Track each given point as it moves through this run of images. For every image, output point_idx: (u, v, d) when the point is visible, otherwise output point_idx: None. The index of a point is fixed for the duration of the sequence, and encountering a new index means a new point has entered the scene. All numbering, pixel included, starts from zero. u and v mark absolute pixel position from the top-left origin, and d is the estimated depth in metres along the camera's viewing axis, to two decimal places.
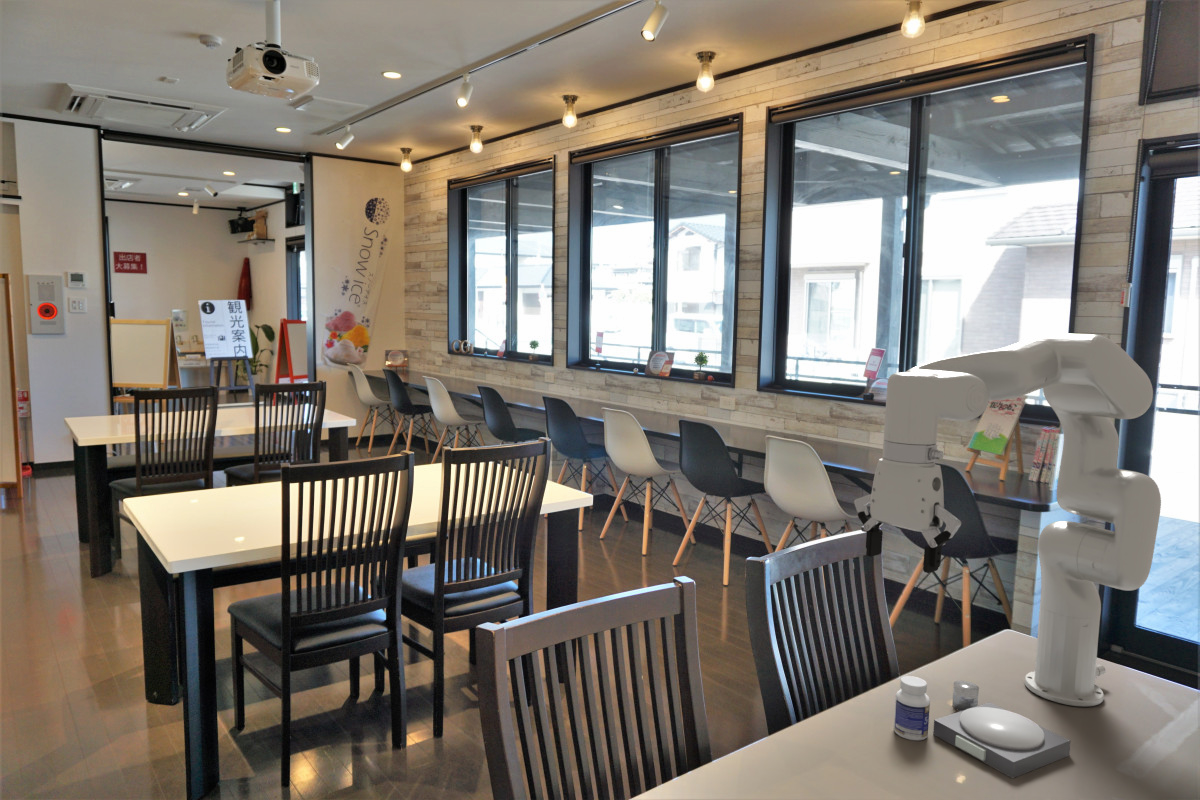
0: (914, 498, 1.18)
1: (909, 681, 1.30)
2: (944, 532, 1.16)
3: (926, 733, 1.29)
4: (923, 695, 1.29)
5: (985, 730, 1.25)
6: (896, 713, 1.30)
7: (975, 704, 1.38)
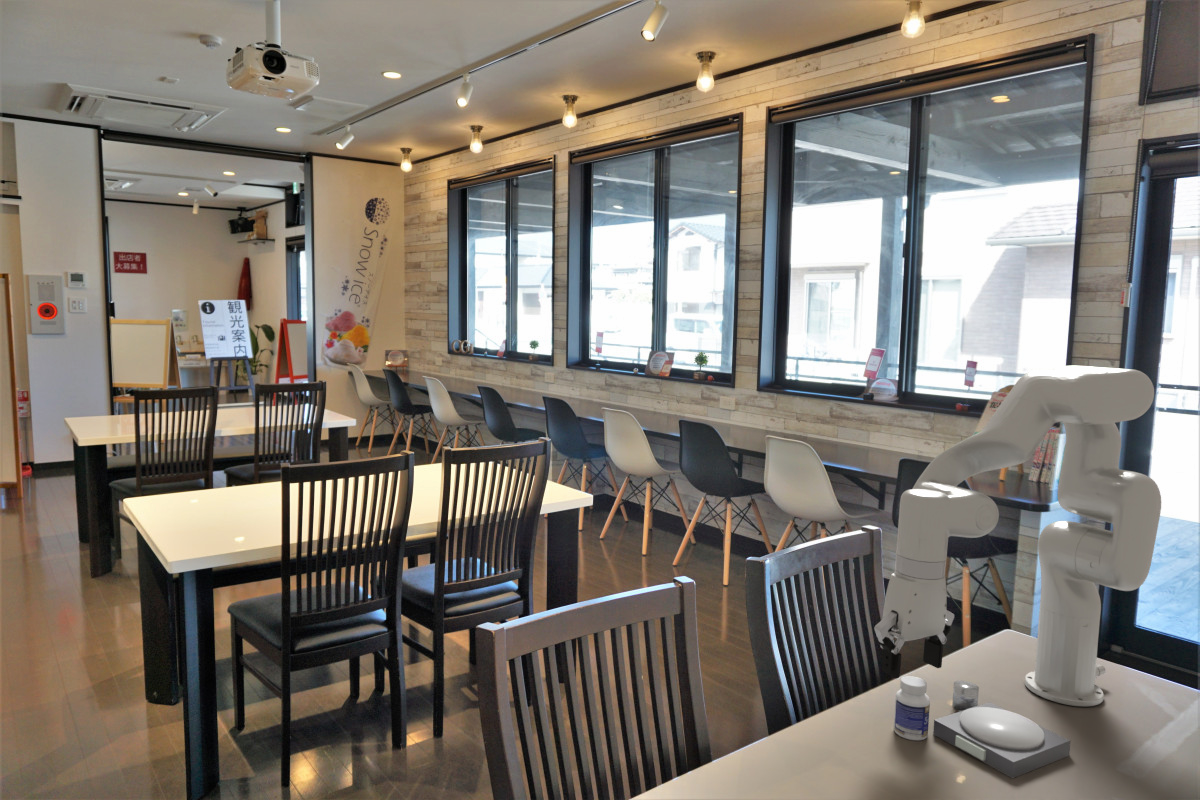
0: (940, 606, 1.28)
1: (909, 681, 1.30)
2: (948, 626, 1.31)
3: (926, 733, 1.29)
4: (923, 695, 1.29)
5: (985, 730, 1.25)
6: (896, 713, 1.30)
7: (975, 704, 1.38)
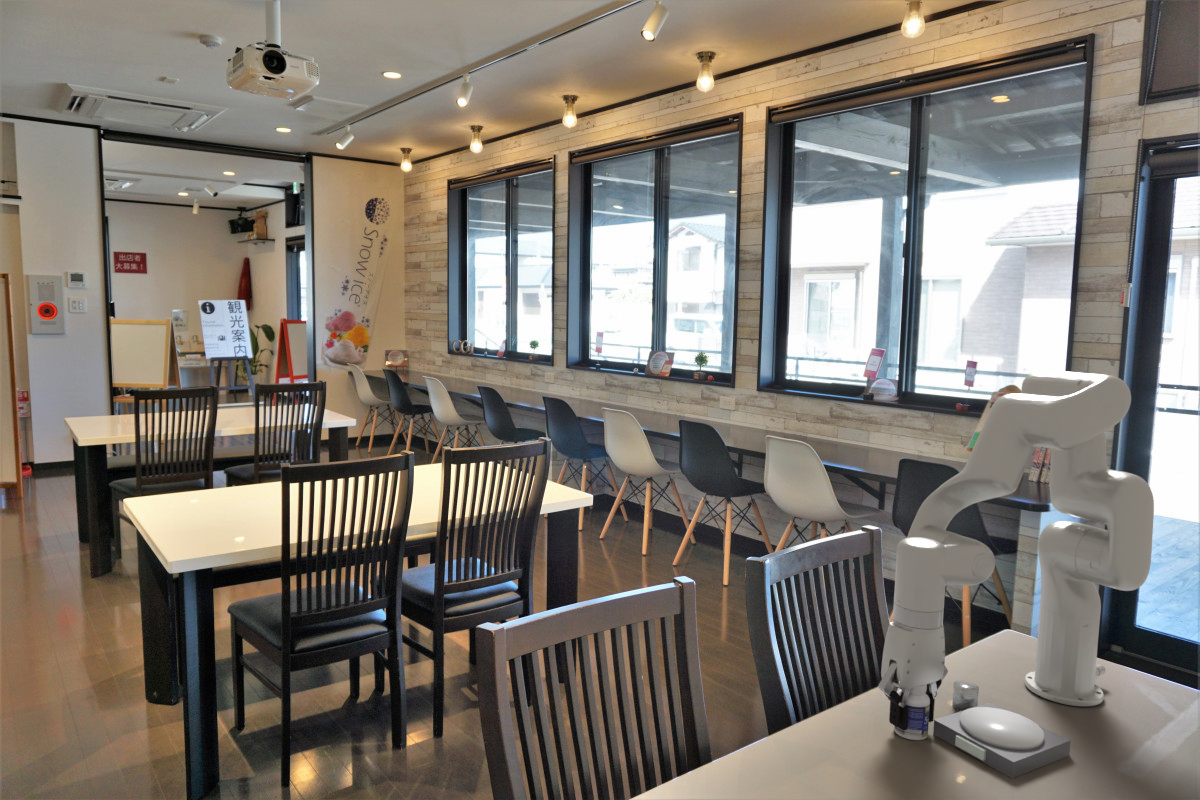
0: (939, 654, 1.29)
1: None
2: (939, 680, 1.32)
3: (926, 733, 1.29)
4: (923, 695, 1.29)
5: (985, 730, 1.25)
6: None
7: (975, 704, 1.38)
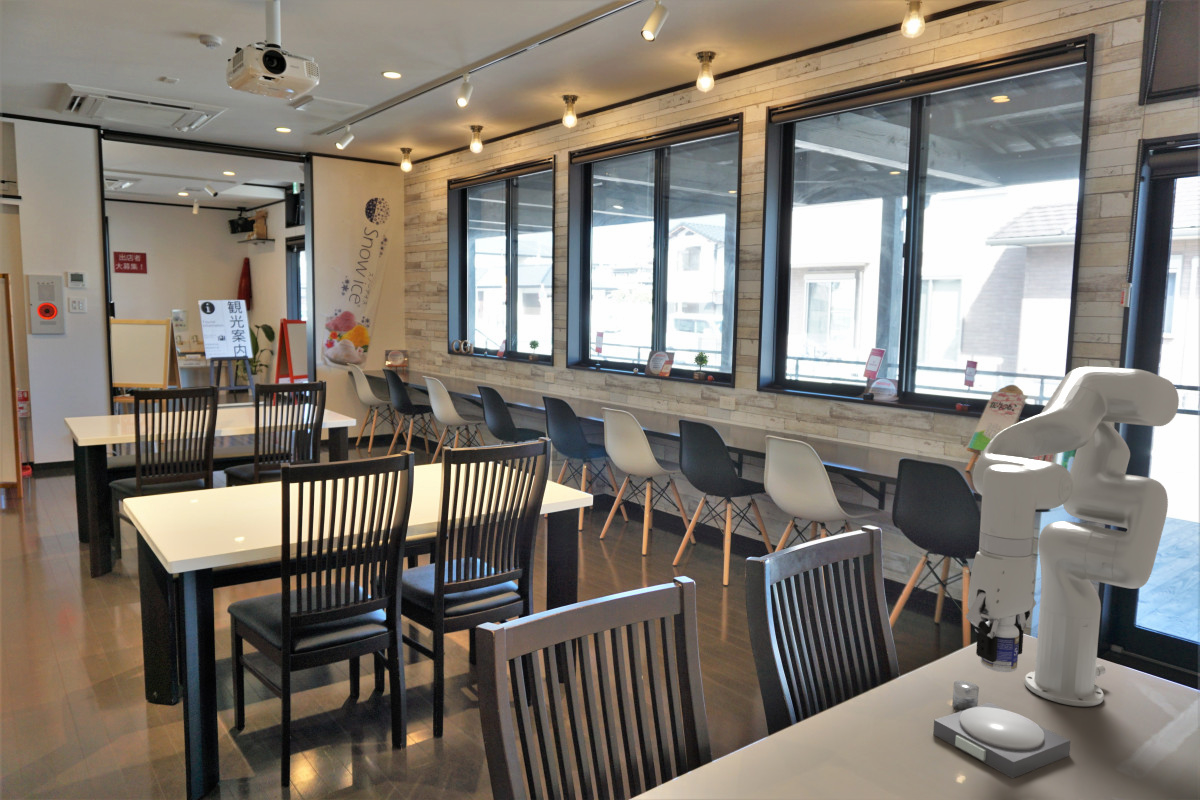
0: (1028, 584, 1.25)
1: None
2: (1027, 611, 1.28)
3: (1016, 665, 1.25)
4: (1012, 626, 1.25)
5: (985, 730, 1.25)
6: None
7: (975, 704, 1.38)
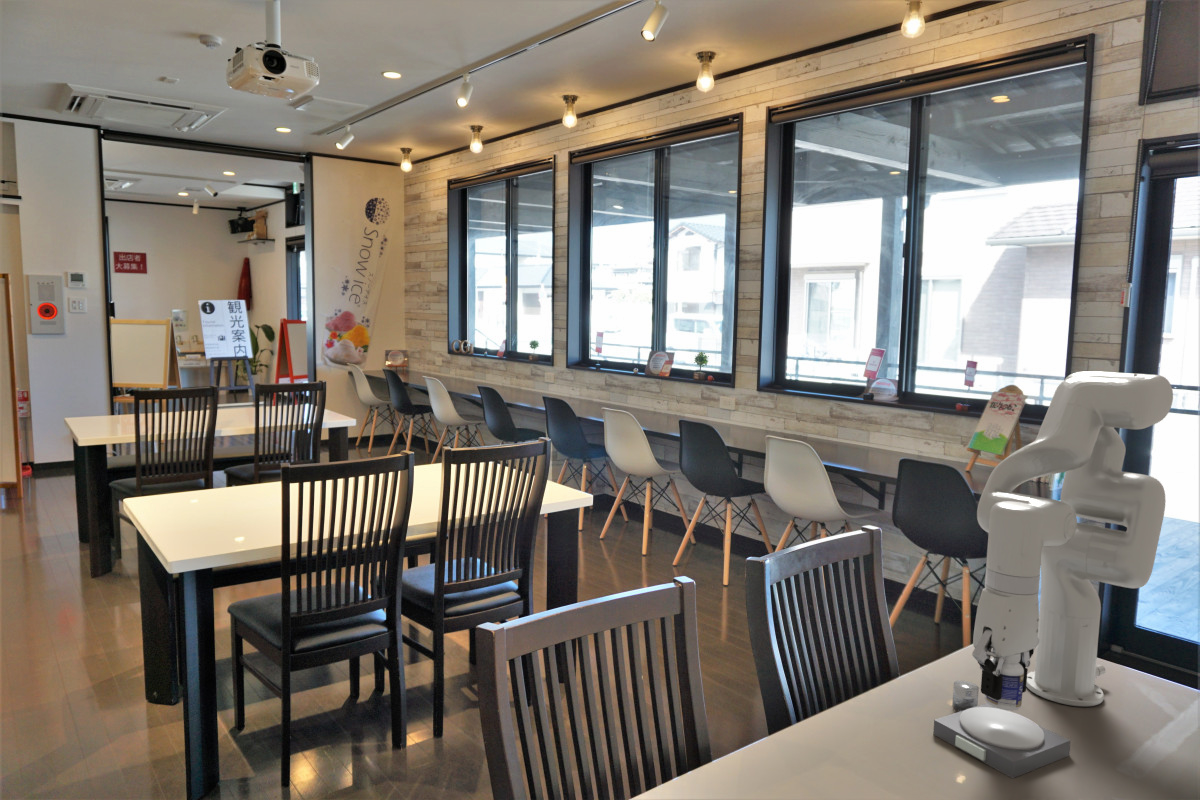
0: (1033, 622, 1.25)
1: None
2: (1031, 649, 1.28)
3: (1020, 703, 1.25)
4: (1017, 664, 1.25)
5: (985, 730, 1.25)
6: None
7: (975, 704, 1.38)
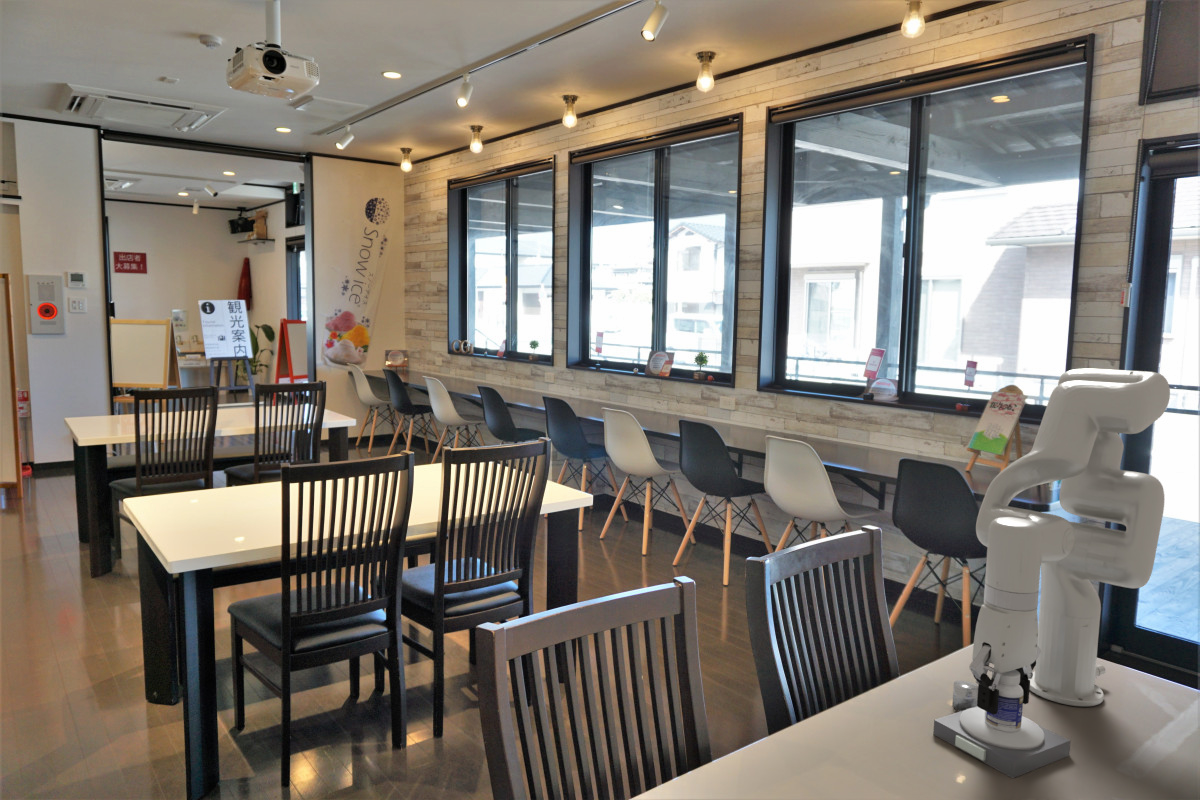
0: (1032, 637, 1.25)
1: None
2: (1033, 661, 1.28)
3: (1020, 724, 1.25)
4: (1017, 686, 1.25)
5: (985, 730, 1.25)
6: None
7: (975, 704, 1.38)
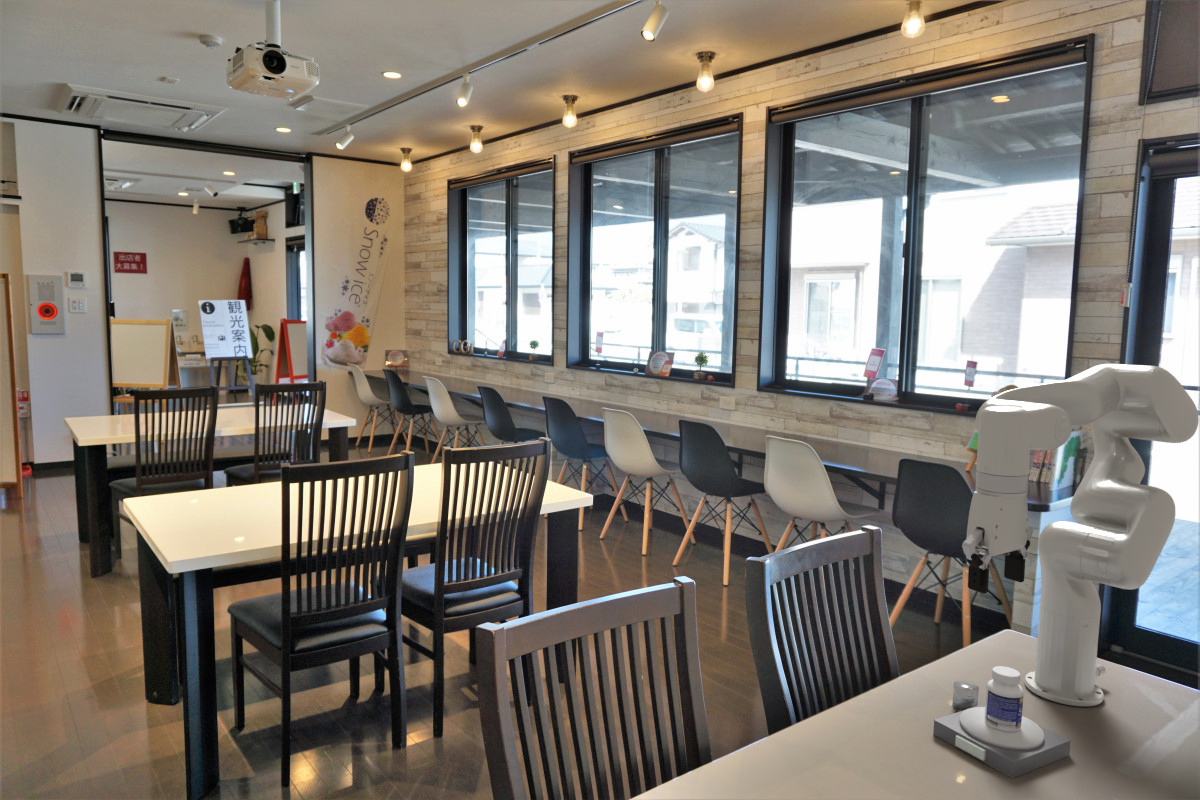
0: (1023, 521, 1.29)
1: (1002, 671, 1.26)
2: (1028, 541, 1.33)
3: (1020, 725, 1.25)
4: (1017, 686, 1.25)
5: (985, 730, 1.25)
6: (988, 704, 1.27)
7: (975, 704, 1.38)
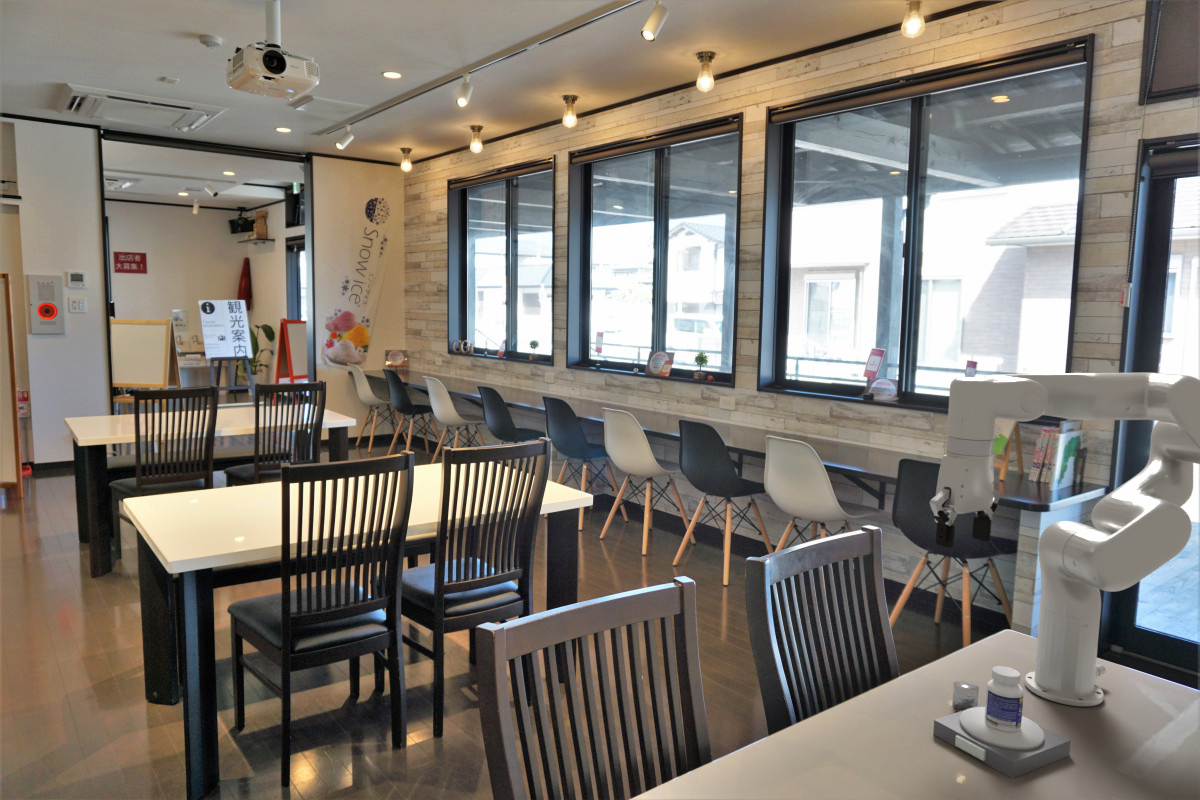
0: (989, 483, 1.40)
1: (1002, 671, 1.26)
2: (995, 504, 1.44)
3: (1020, 724, 1.25)
4: (1017, 686, 1.25)
5: (985, 730, 1.25)
6: (988, 704, 1.27)
7: (975, 704, 1.38)
